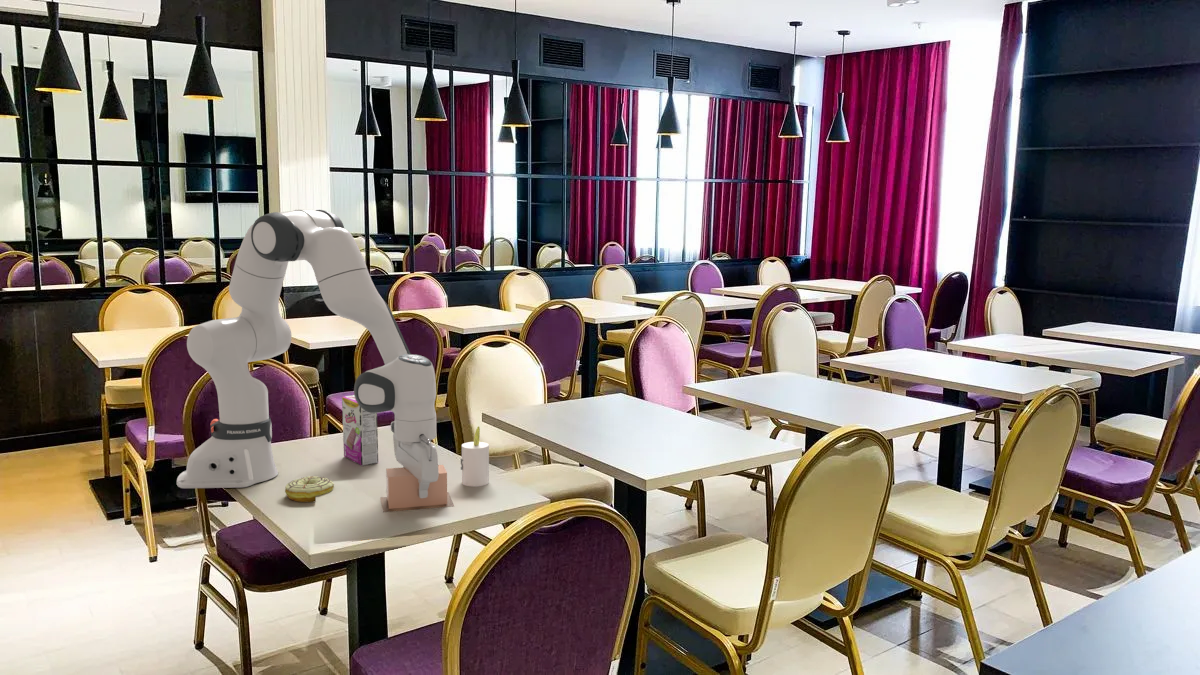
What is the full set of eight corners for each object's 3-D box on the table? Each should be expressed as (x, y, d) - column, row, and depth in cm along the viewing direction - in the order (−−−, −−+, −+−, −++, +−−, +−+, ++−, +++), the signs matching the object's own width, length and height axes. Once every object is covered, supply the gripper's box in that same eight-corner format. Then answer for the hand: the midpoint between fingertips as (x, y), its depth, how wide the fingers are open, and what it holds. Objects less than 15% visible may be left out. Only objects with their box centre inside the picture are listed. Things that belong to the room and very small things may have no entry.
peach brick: (388, 508, 190) (388, 477, 189) (386, 499, 196) (386, 468, 195) (447, 504, 193) (446, 473, 192) (443, 494, 200) (443, 464, 199)
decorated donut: (339, 489, 208) (338, 473, 208) (327, 504, 198) (327, 487, 197) (293, 489, 208) (293, 473, 207) (280, 504, 197) (279, 487, 196)
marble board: (383, 518, 188) (382, 498, 187) (380, 504, 197) (380, 484, 197) (454, 512, 192) (454, 492, 192) (448, 498, 202) (448, 479, 201)
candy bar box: (342, 457, 234) (340, 396, 232) (360, 454, 237) (358, 394, 235) (361, 466, 226) (359, 403, 223) (379, 463, 229) (378, 401, 227)
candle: (458, 485, 211) (458, 424, 209) (485, 483, 213) (485, 422, 211) (464, 493, 205) (463, 430, 203) (491, 491, 208) (491, 428, 206)
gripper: (445, 439, 185) (446, 503, 187) (415, 418, 203) (416, 477, 205) (416, 442, 182) (417, 507, 184) (388, 421, 200) (389, 481, 201)
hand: (416, 491), depth 194 cm, fingers closed on peach brick, 7 cm apart
